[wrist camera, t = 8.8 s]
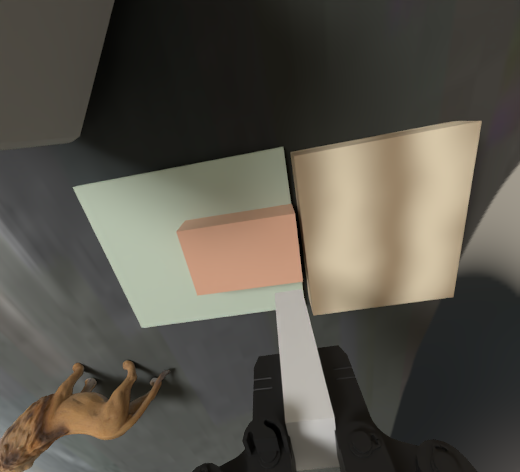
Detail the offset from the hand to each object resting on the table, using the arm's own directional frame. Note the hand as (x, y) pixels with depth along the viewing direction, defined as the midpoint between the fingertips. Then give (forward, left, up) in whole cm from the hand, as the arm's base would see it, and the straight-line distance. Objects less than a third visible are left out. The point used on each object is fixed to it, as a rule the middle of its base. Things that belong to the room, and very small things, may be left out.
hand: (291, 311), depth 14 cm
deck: (+8, 0, -9) cm, 12 cm away
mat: (-7, 0, -9) cm, 12 cm away
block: (-3, 0, -9) cm, 9 cm away
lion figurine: (-23, -14, -9) cm, 28 cm away
